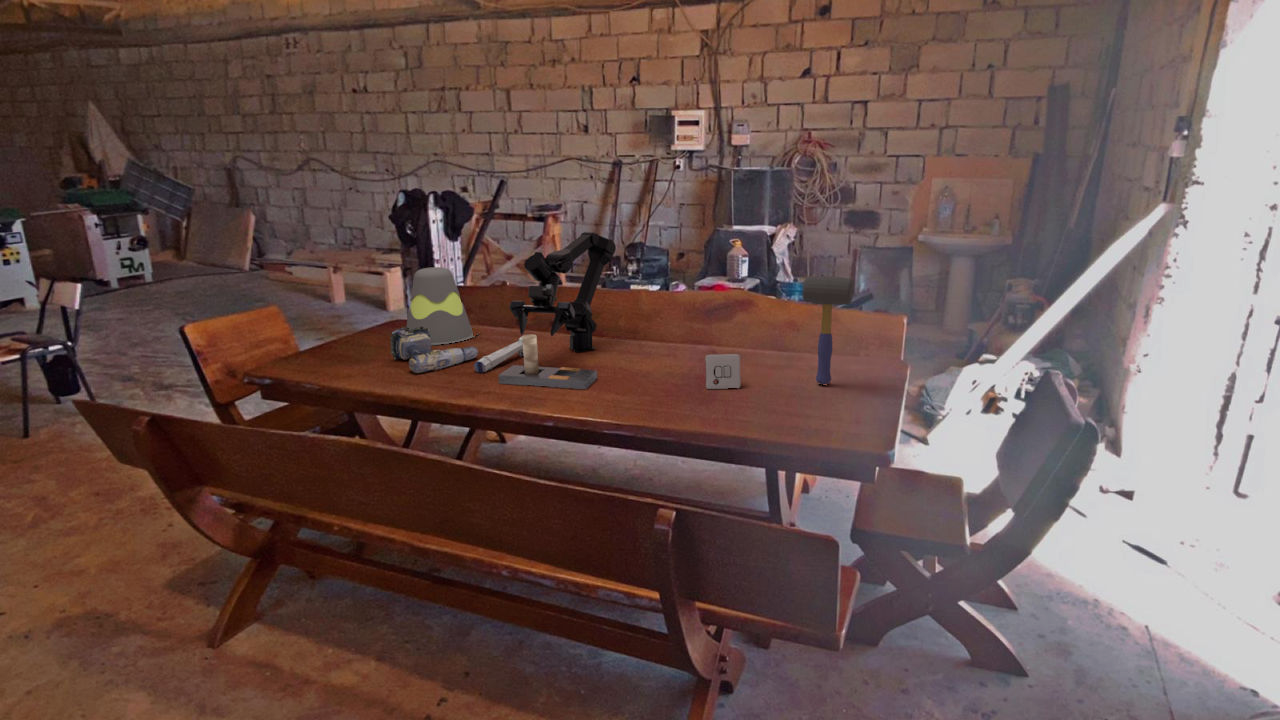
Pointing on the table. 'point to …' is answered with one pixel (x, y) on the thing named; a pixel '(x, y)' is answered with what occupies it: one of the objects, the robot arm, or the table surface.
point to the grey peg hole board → (549, 377)
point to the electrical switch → (722, 371)
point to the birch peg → (530, 354)
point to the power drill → (425, 350)
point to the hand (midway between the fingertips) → (536, 334)
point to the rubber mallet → (826, 313)
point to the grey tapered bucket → (438, 307)
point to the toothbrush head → (499, 356)
